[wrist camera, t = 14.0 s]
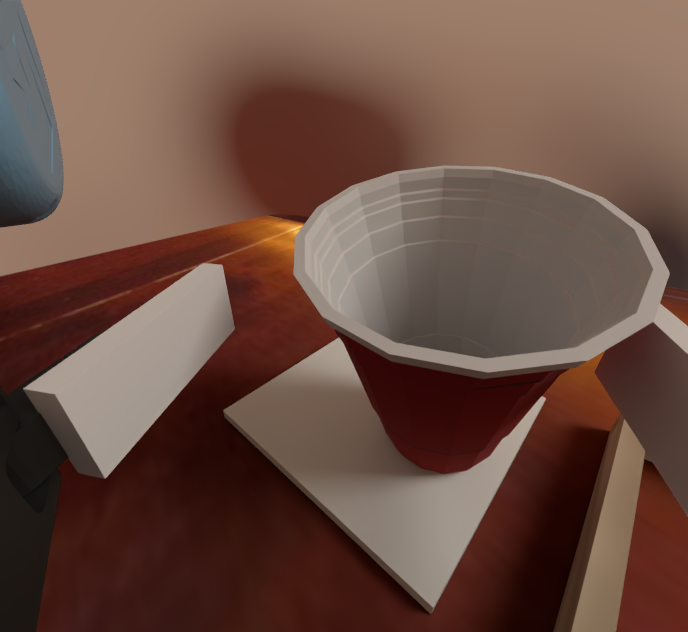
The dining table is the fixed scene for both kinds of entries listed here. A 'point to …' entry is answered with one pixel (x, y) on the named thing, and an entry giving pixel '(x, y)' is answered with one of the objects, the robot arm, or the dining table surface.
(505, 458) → the white tile
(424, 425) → the plastic cup
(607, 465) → the birch collar
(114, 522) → the dining table surface
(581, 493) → the dining table surface
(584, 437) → the dining table surface
